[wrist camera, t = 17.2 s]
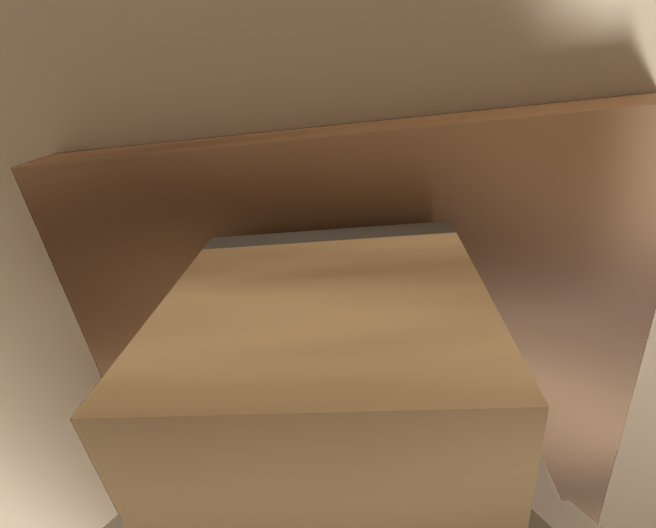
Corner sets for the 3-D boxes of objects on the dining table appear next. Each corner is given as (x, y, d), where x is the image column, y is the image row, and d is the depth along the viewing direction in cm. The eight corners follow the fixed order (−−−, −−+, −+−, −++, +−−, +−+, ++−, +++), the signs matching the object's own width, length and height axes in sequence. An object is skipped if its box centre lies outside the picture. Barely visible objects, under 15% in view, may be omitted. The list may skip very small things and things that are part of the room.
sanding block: (442, 505, 13) (488, 755, 8) (276, 505, 13) (234, 741, 9) (450, 220, 9) (548, 407, 4) (211, 237, 9) (70, 418, 5)
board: (548, 604, 18) (563, 650, 16) (225, 596, 19) (214, 637, 18) (660, 92, 9) (712, 98, 8) (55, 153, 11) (10, 168, 9)
